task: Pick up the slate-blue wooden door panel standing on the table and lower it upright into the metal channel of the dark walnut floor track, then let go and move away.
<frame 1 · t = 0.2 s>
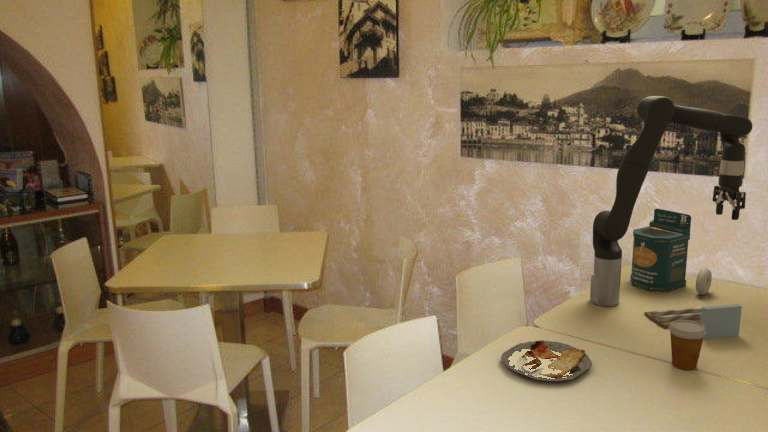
hand: (726, 217, 229), 29 cm above the table, tool pointing down, fingers open, 8 cm apart
beige flat disc: (702, 295, 235), on the table
floor track: (690, 318, 214), on the table
disposable coffee cup: (684, 365, 181), on the table
door panel: (718, 336, 199), on the table
donation box: (653, 284, 247), on the table
food plate: (546, 366, 184), on the table
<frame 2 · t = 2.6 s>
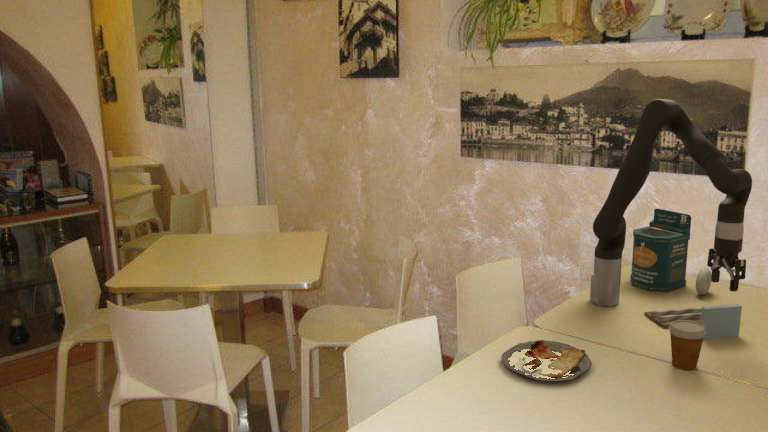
hand: (724, 286, 196), 16 cm above the table, tool pointing down, fingers open, 8 cm apart
nothing on the table moved.
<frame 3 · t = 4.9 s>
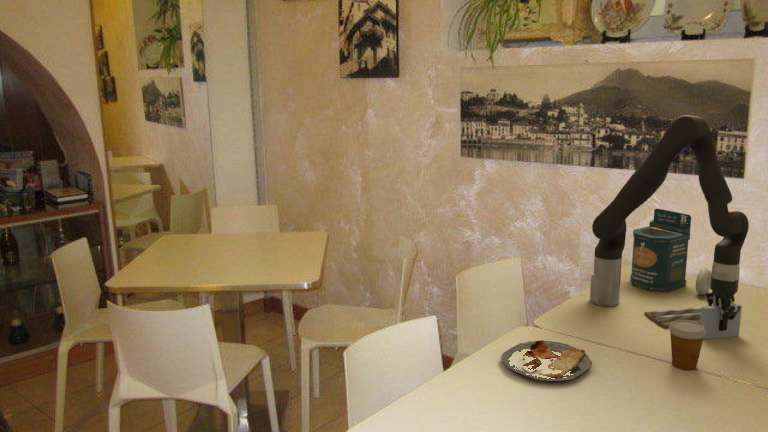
hand: (719, 328, 199), 3 cm above the table, tool pointing down, fingers closed on door panel, 2 cm apart
door panel: (719, 336, 199), on the table, touching gripper
everything else where it was.
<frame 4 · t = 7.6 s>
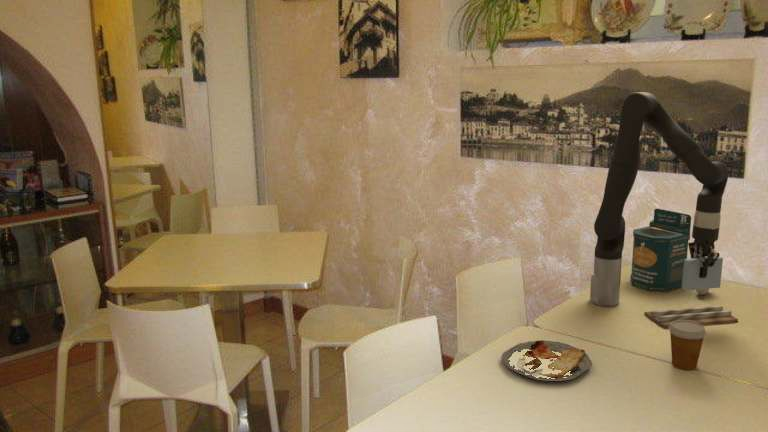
hand: (700, 276, 206), 16 cm above the table, tool pointing down, fingers closed on door panel
door panel: (700, 287, 207), point 12 cm above the table, touching gripper
everything else where it was.
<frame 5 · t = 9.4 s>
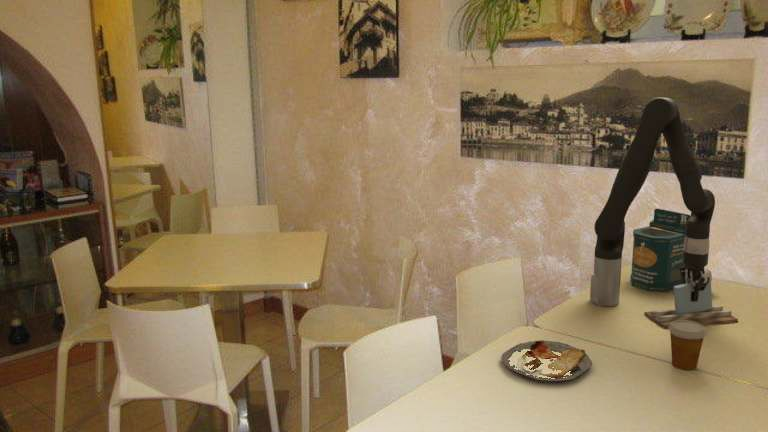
hand: (691, 299, 212), 7 cm above the table, tool pointing down, fingers closed on door panel, 2 cm apart
door panel: (693, 311, 213), point 2 cm above the table, tilted 8°, touching gripper
everything else where it was.
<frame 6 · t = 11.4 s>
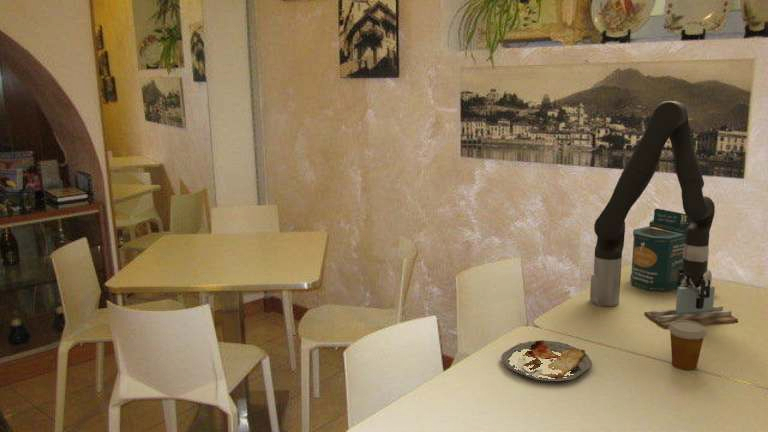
hand: (691, 303, 213), 5 cm above the table, tool pointing down, fingers open, 8 cm apart
door panel: (693, 315, 214), point 1 cm above the table, touching floor track
everything else where it was.
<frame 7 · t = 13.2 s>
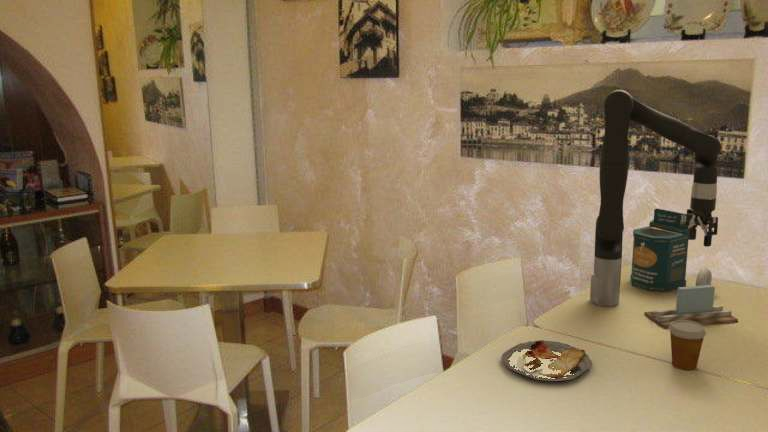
hand: (699, 242, 215), 24 cm above the table, tool pointing down, fingers open, 8 cm apart
nothing on the table moved.
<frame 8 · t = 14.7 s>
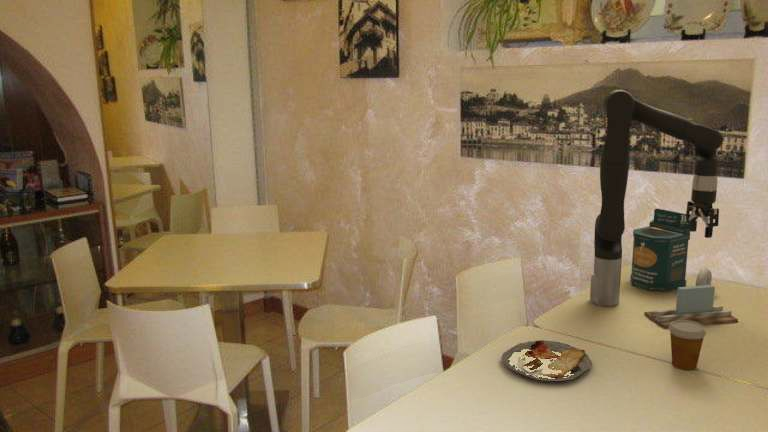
hand: (700, 234, 219), 26 cm above the table, tool pointing down, fingers open, 8 cm apart
nothing on the table moved.
at the end: door panel inside the target area on the floor track (1.2 cm from its centre), point 1.0 cm above the floor track's base; door panel tilted 0°; the gripper is holding nothing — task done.
